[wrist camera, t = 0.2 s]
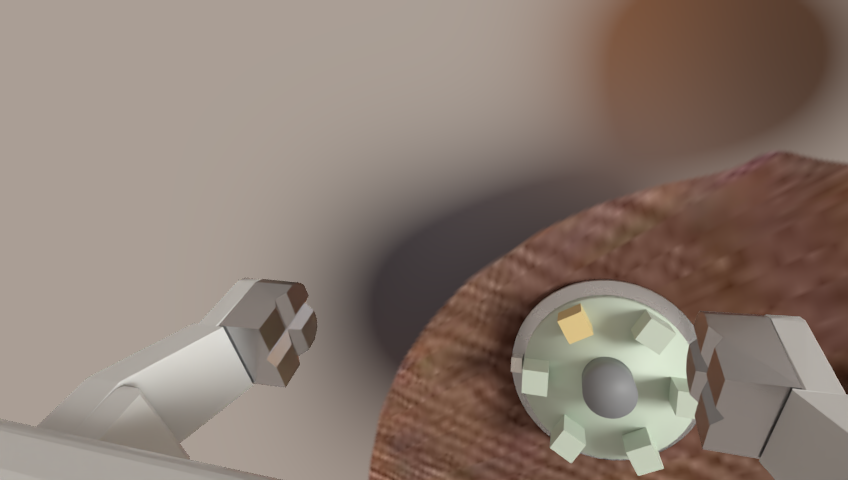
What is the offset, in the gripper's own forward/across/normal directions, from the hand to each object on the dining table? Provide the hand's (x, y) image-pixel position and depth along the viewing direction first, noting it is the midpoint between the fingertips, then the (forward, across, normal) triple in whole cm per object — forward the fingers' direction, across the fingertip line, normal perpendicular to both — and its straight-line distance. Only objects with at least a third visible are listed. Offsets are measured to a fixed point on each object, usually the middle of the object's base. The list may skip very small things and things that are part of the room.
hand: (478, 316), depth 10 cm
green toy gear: (+36, +7, -43) cm, 57 cm away
